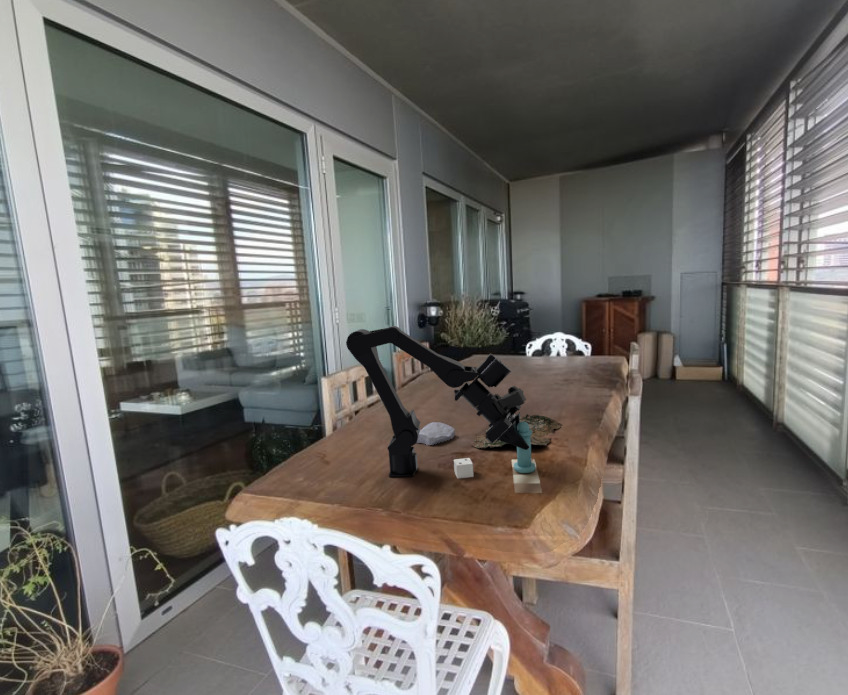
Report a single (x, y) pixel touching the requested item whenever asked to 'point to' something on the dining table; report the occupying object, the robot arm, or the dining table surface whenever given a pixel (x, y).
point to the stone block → (435, 433)
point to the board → (526, 480)
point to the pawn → (524, 455)
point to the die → (463, 468)
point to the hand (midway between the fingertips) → (529, 445)
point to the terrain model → (536, 425)
